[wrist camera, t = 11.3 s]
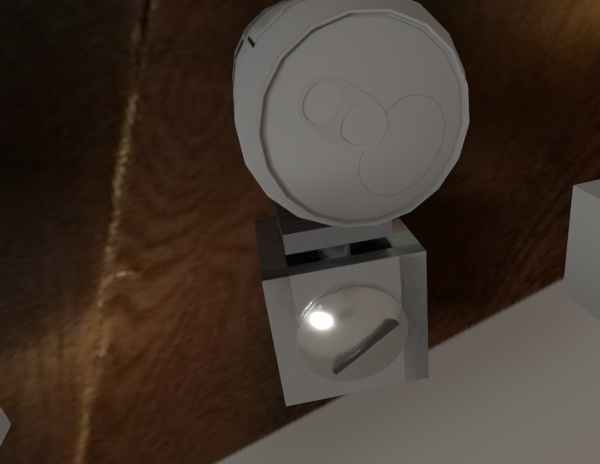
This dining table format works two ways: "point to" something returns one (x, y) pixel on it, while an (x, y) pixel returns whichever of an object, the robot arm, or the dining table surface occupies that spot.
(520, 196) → the dining table surface
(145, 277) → the dining table surface
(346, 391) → the gauge housing
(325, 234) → the plunger
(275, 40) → the supplement can
